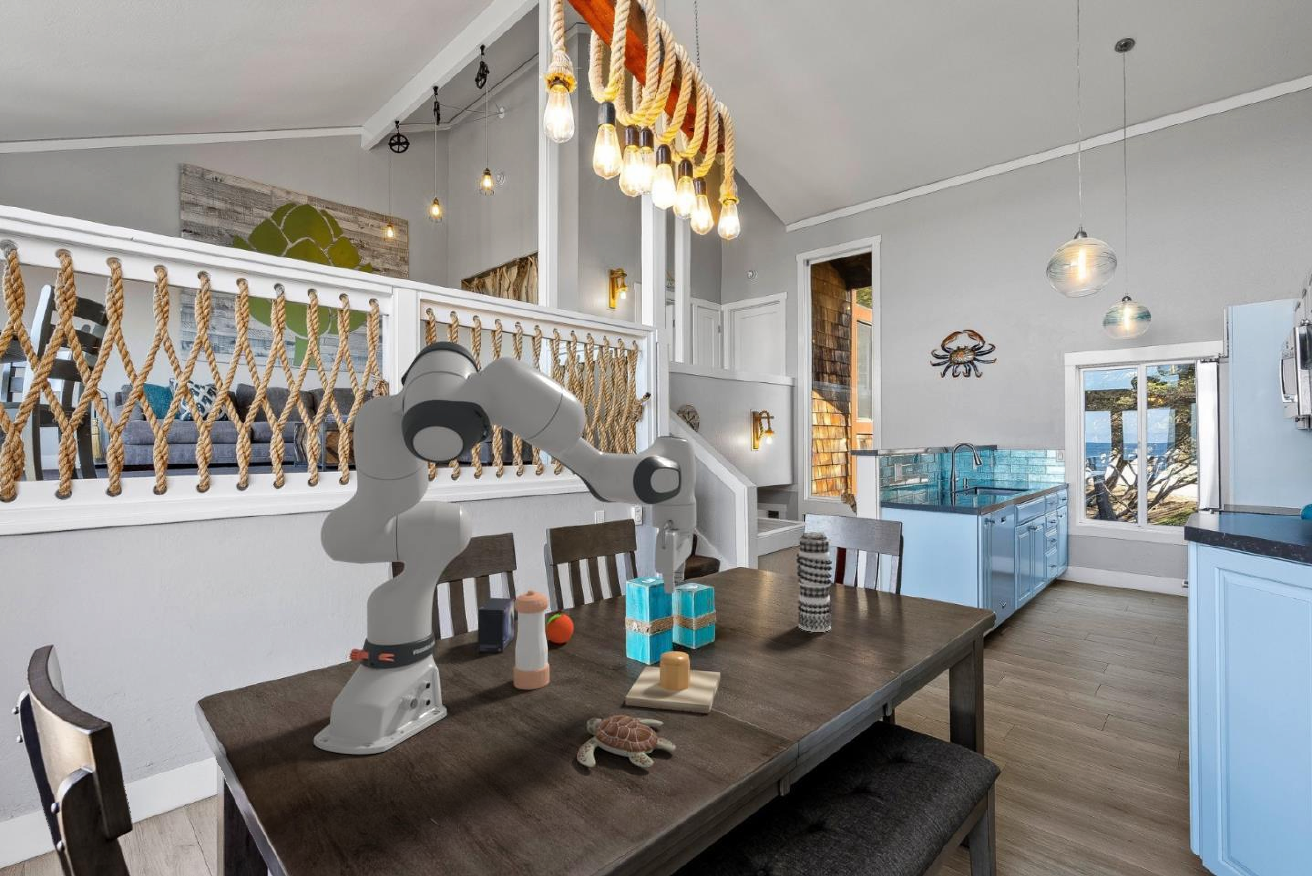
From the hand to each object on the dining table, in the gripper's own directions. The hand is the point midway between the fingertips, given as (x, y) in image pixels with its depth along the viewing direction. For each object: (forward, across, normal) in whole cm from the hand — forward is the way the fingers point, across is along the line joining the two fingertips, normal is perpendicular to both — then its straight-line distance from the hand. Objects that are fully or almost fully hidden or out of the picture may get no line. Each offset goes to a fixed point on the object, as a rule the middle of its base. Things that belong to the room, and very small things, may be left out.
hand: (674, 586), depth 122 cm
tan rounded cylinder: (+19, 0, 0) cm, 19 cm away
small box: (+21, +17, +48) cm, 55 cm away
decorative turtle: (+22, -23, +4) cm, 32 cm away
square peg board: (+21, 0, 0) cm, 21 cm away
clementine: (+21, +22, +34) cm, 45 cm away
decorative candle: (+21, +48, -28) cm, 59 cm away
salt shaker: (+21, -2, +30) cm, 37 cm away
